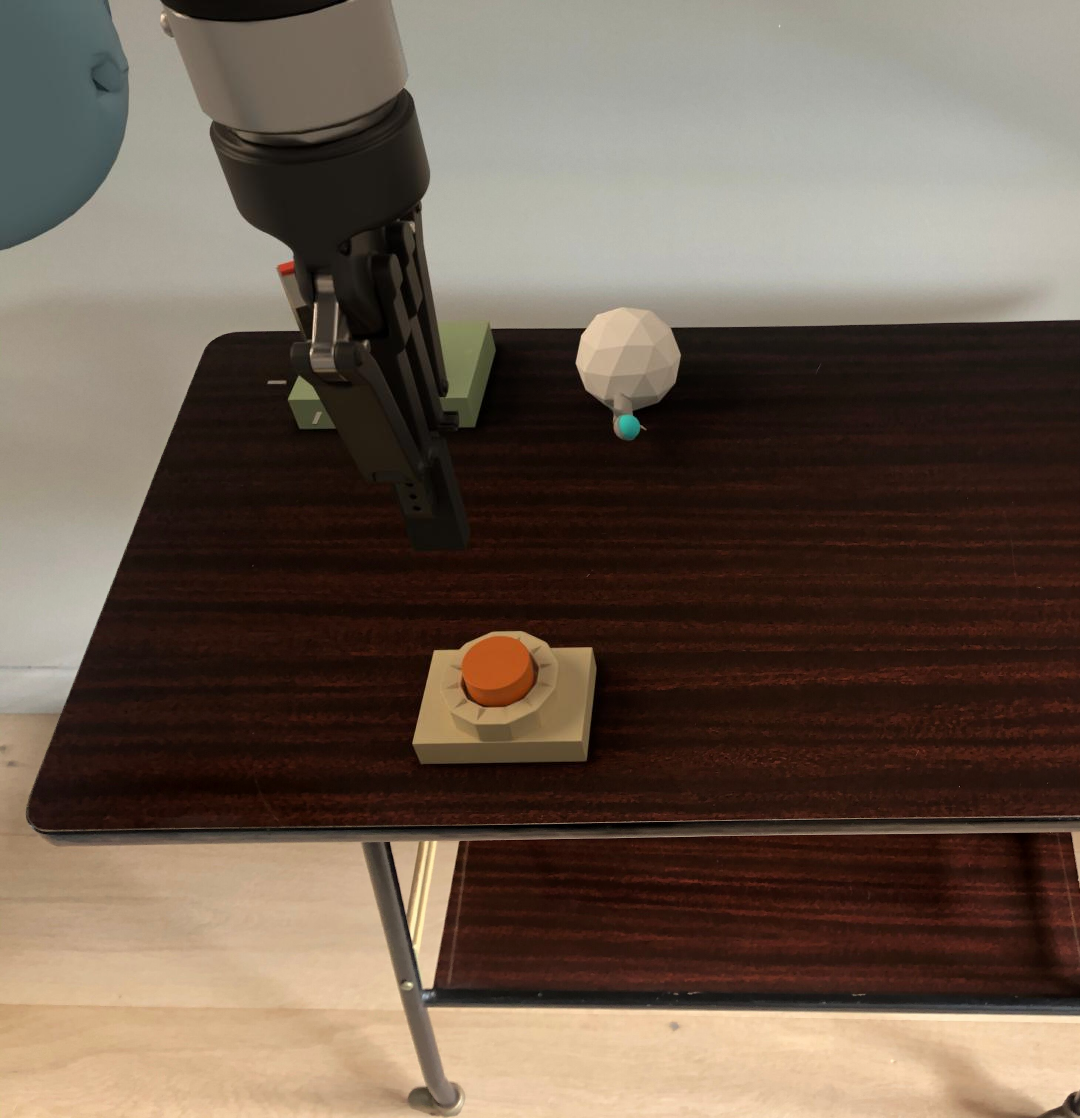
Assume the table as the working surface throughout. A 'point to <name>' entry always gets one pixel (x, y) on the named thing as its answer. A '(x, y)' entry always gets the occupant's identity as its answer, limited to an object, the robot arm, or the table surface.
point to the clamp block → (464, 365)
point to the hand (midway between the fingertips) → (442, 540)
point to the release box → (509, 710)
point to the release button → (498, 671)
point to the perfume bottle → (628, 363)
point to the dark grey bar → (296, 300)
